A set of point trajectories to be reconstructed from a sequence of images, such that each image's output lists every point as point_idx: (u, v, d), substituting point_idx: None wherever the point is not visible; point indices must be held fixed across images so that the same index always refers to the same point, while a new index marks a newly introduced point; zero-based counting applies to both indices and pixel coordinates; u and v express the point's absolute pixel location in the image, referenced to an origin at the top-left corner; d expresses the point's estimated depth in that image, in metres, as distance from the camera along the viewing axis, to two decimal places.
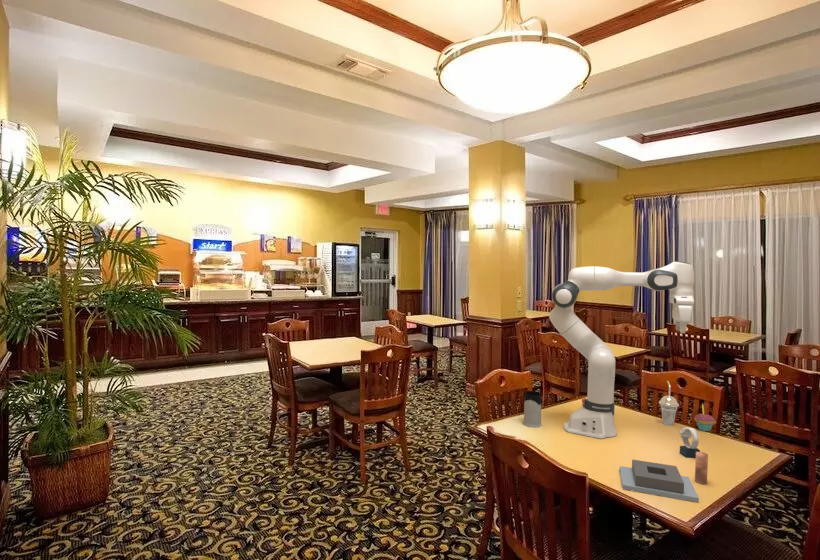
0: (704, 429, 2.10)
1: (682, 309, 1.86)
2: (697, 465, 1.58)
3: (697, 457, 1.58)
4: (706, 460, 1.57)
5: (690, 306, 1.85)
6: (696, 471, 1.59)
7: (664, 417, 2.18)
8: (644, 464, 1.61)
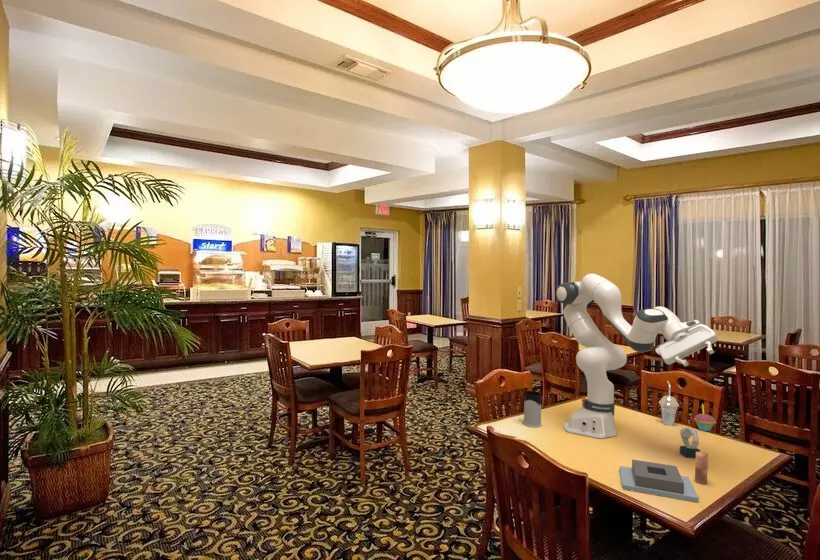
0: (704, 429, 2.10)
1: None
2: (697, 465, 1.58)
3: (697, 457, 1.58)
4: (706, 460, 1.57)
5: None
6: (696, 471, 1.59)
7: (664, 417, 2.18)
8: (644, 464, 1.61)
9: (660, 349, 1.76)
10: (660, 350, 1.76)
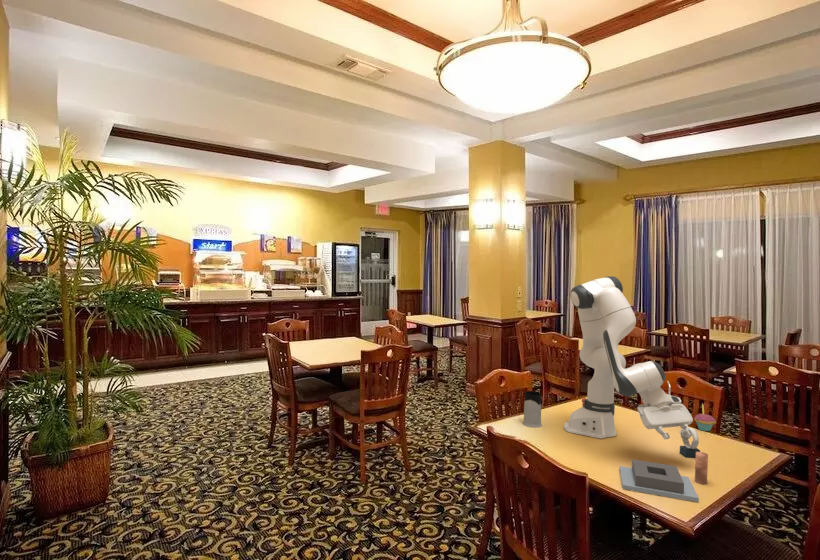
0: (704, 429, 2.10)
1: None
2: (697, 465, 1.58)
3: (697, 457, 1.58)
4: (706, 460, 1.57)
5: None
6: (696, 471, 1.59)
7: None
8: (644, 464, 1.61)
9: (646, 411, 1.69)
10: (646, 412, 1.69)
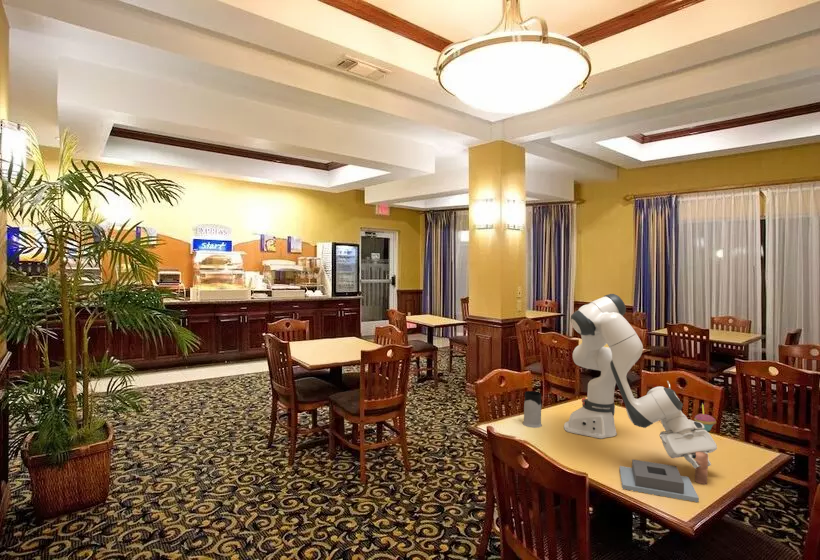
0: (704, 429, 2.10)
1: None
2: None
3: (697, 457, 1.58)
4: (706, 460, 1.57)
5: None
6: (696, 471, 1.59)
7: None
8: (644, 464, 1.61)
9: (670, 439, 1.61)
10: (670, 440, 1.60)
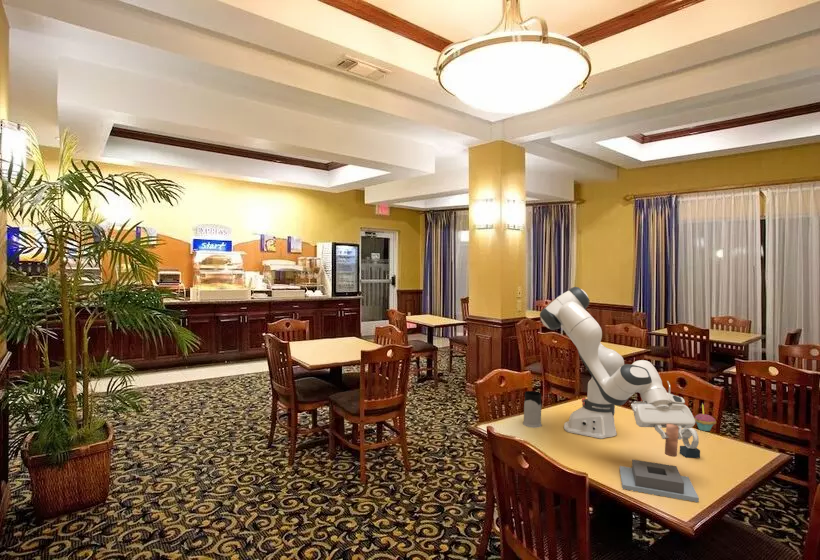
0: (704, 429, 2.10)
1: None
2: None
3: (667, 428, 1.56)
4: (676, 432, 1.54)
5: None
6: (665, 443, 1.56)
7: None
8: (644, 464, 1.61)
9: (639, 408, 1.60)
10: (639, 409, 1.60)
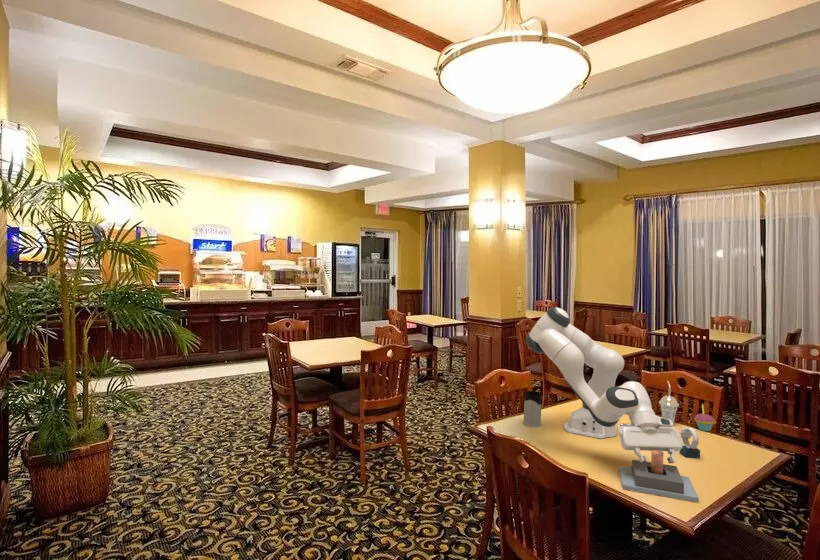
0: (704, 429, 2.10)
1: None
2: (651, 463, 1.56)
3: (651, 455, 1.56)
4: (660, 458, 1.54)
5: None
6: (651, 469, 1.56)
7: (664, 417, 2.18)
8: (644, 464, 1.61)
9: (625, 430, 1.61)
10: (624, 432, 1.61)
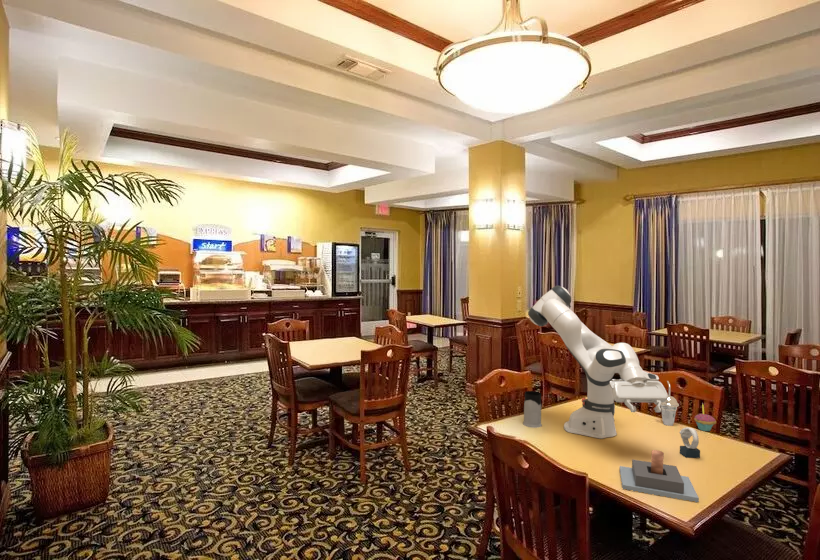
0: (704, 429, 2.10)
1: None
2: (651, 463, 1.56)
3: (652, 455, 1.56)
4: (660, 458, 1.54)
5: None
6: (651, 469, 1.56)
7: (664, 417, 2.18)
8: (644, 464, 1.61)
9: (616, 385, 1.77)
10: (616, 386, 1.77)
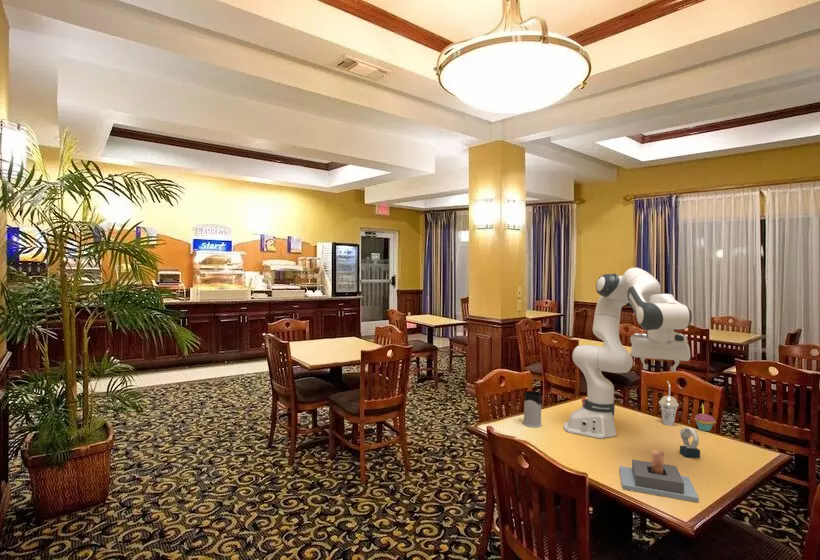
0: (704, 429, 2.10)
1: (688, 346, 1.71)
2: (652, 463, 1.56)
3: (652, 455, 1.56)
4: (661, 458, 1.54)
5: None
6: (651, 469, 1.56)
7: (664, 417, 2.18)
8: (644, 464, 1.61)
9: (635, 343, 1.78)
10: (634, 344, 1.78)
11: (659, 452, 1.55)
